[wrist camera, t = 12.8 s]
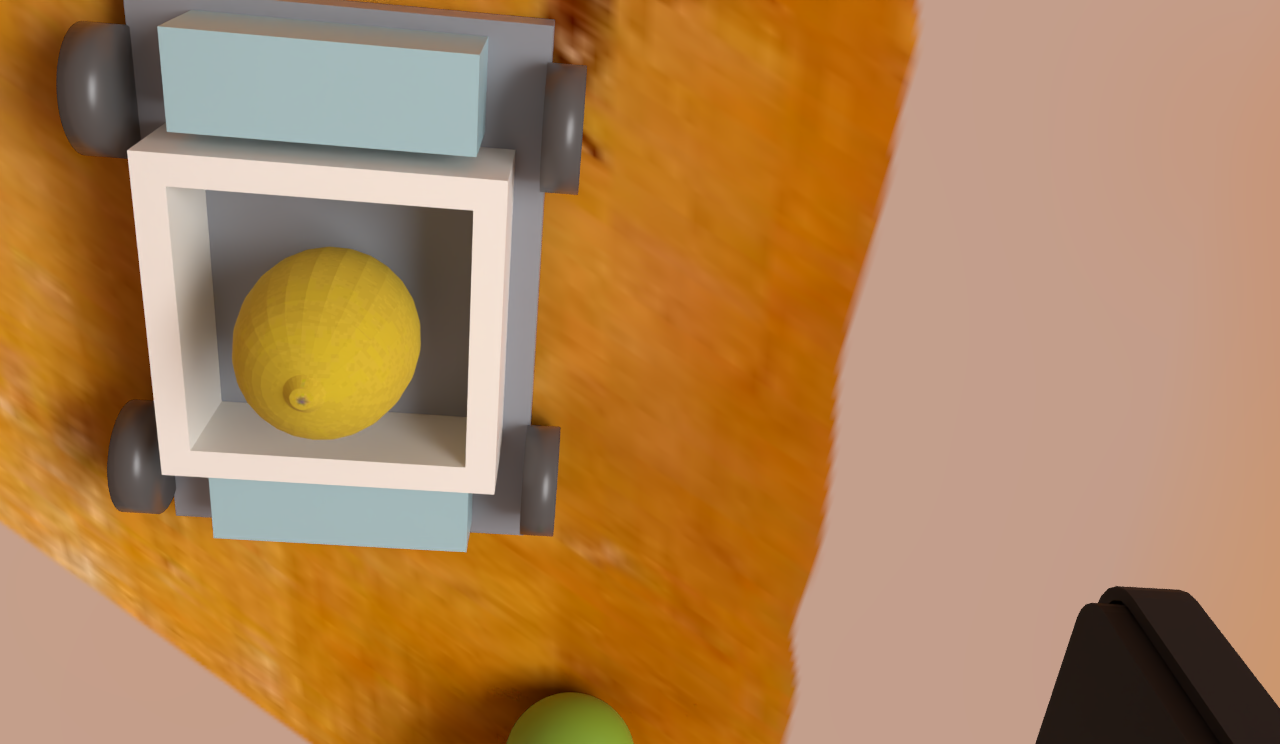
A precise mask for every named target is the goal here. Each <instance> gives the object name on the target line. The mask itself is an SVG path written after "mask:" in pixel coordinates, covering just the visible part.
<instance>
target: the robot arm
mask: <svg viewBox="0 0 1280 744" xmlns="http://www.w3.org/2000/svg"><path fill="white" fill-rule="evenodd" d="M1036 744H1280V708H1279V707H1278V706H1277V704H1276V703H1275V702H1274V700H1273V699H1272V698H1271V696H1270V695H1269V694H1268V693H1267V691H1266V690H1265V689H1264V687H1263V686H1262V685H1261V683H1260V682H1259V681H1258V680H1257V678H1256V677H1255V676H1254V674H1253V673H1252V672H1251V671H1250V669H1249V668H1248V667H1247V665H1246V664H1245V663H1244V661H1243V660H1242V659H1241V657H1240V656H1239V655H1238V654H1237V652H1236V651H1235V650H1234V648H1233V647H1232V646H1231V644H1230V643H1229V642H1228V641H1227V639H1226V638H1225V637H1224V635H1223V634H1222V633H1221V632H1220V630H1219V629H1218V628H1217V626H1216V625H1215V624H1214V622H1213V621H1212V620H1211V619H1210V617H1209V616H1208V615H1207V613H1206V612H1205V611H1204V609H1203V608H1202V607H1201V606H1200V604H1199V603H1198V602H1197V601H1196V600H1195V599H1194V598H1193V597H1192V596H1191V595H1190V594H1189V593H1187V592H1184V591H1181V590H1172V589H1155V588H1136V587H1118V586H1116V587H1112V588H1109V589H1107V591H1106V592H1105V593H1104V594H1103V595H1102V596H1101V598H1100V600H1099V602H1098V603H1090V604H1087V605H1085V606H1084V607H1083V608H1082V609H1081V611H1080V613H1079V615H1078V617H1077V620H1076V623H1075V626H1074V629H1073V632H1072V635H1071V638H1070V641H1069V644H1068V647H1067V650H1066V653H1065V656H1064V659H1063V662H1062V665H1061V668H1060V671H1059V674H1058V677H1057V680H1056V683H1055V686H1054V689H1053V692H1052V696H1051V699H1050V701H1049V704H1048V707H1047V711H1046V713H1045V717H1044V719H1043V723H1042V725H1041V728H1040V732H1039V735H1038V737H1037V740H1036Z"/></svg>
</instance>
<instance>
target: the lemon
mask: <svg viewBox="0 0 1280 744" xmlns="http://www.w3.org/2000/svg"><path fill="white" fill-rule="evenodd" d="M420 347H421V338H420V320H419V317H418V313H417V310H416V307H415V303H414V300H413V298H412V296H411V295H410V293H409V291H408V290H407V288H406V286H405V285H404V283H403V281H402V280H401V279H400V278H399V277H398V276H397V275H396V274H395V273H394V272H393V271H392V270H391V269H390V268H389V267H388V266H386V265H385V264H383V263H382V262H380V261H378V260H377V259H375V258H374V257H372V256H370V255H368V254H365V253H362V252H359V251H356V250H353V249H348V248H339V247H322V248H314V249H308V250H305V251H302V252H300V253H297V254H295V255H292V256H289V257H287V258H285V259H283V260H282V261H280V262H279V263H278V264H276V265H275V266H274V267H272V268H271V269H270V270H268V271H267V272H266V273H265V274H263V275H262V276H261V277H260V279H259V280H258V281H257V283H256V284H255V285H254V287H253V288H252V289H251V291H250V292H249V294H248V295H247V296H246V298H245V300H244V301H243V304H242V306H241V309H240V312H239V315H238V318H237V320H236V323H235V326H234V331H233V345H232V364H233V368H234V372H235V376H236V380H237V383H238V386H239V388H240V390H241V392H242V394H243V395H244V397H245V399H246V401H247V403H248V404H249V405H250V406H251V407H252V408H253V410H254V411H255V412H256V413H257V414H258V415H259V416H260V417H261V418H262V419H264V420H265V421H266V422H268V423H269V424H271V425H272V426H274V427H275V428H276V429H278V430H281V431H283V432H285V433H288V434H290V435H292V436H296V437H301V438H306V439H311V440H333V439H338V438H342V437H346V436H350V435H353V434H355V433H357V432H359V431H361V430H363V429H365V428H367V427H369V426H371V425H373V424H374V423H376V422H377V421H378V420H379V419H380V418H381V417H382V416H383V415H385V414H386V413H387V412H388V411H389V410H390V409H391V408H392V407H393V406H394V405H395V404H396V403H397V402H398V400H399V399H400V397H401V396H402V394H403V392H404V391H405V389H406V388H407V386H408V384H409V383H410V381H411V379H412V377H413V375H414V372H415V368H416V365H417V361H418V357H419V354H420Z"/></svg>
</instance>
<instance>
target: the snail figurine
mask: <svg viewBox="0 0 1280 744" xmlns="http://www.w3.org/2000/svg"><path fill="white" fill-rule="evenodd" d="M506 744H634V743H633V739H632V736H631V734H630V731H629V729H628V727H627V725H626V724H625V722H624V721H623V719H622V718H621V717H620V715H619V714H618V713H617V712H616V711H615V710H614V709H613V708H612V707H611V706H609V705H608V704H607V703H605V702H604V701H602V700H600V699H598V698H596V697H593V696H591V695H587V694H583V693H576V692H566V693H559V694H555V695H551V696H548V697H546V698H544V699H542V700H540V701H538V702H536V703H535V704H533V705H532V706H531V707H530V708H528V709H527V710H526V711H525V712H524V713H523V714H522V715H521V717H520V718H519V719H518V720H517V722H516V723H515V725H514V727H513V728H512V730H511V732H510V735H509V737H508V740H507V743H506Z"/></svg>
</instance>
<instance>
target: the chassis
mask: <svg viewBox="0 0 1280 744" xmlns="http://www.w3.org/2000/svg"><path fill="white" fill-rule="evenodd" d="M124 10H125V20H126V25H122V24H111V23H99V22H88V21H79V22H76V23H74V24H73V25H72V26H71V27H70V29H69V30H68V31H67V33H66V35H65V37H64V40H63V42H62V45H61V49H60V53H59V58H58V65H57V85H56V86H57V101H58V108H59V114H60V118H61V122H62V126H63V129H64V131H65V134H66V136H67V138H68V140H69V142H70V144H71V145H72V147H73V148H74V149H75V150H76V151H77V152H78V153H80V154H82V155H87V156H99V157H112V158H124V159H127V158H128V164H129V173H130V182H131V192H132V201H133V210H134V220H135V229H136V238H137V248H138V257H139V266H140V276H141V285H142V294H143V304H144V313H145V322H146V332H147V341H148V350H149V360H150V369H151V379H152V388H153V397H154V401H151V400H130V401H129V402H127V403H126V404H125V405H124V407H123V408H122V410H121V411H120V413H119V415H118V417H117V419H116V422H115V425H114V428H113V431H112V435H111V440H110V445H109V452H108V463H107V477H108V487H109V492H110V496H111V499H112V502H113V504H114V506H115V507H116V508H117V509H118V510H119V511H121V512H134V513H152V514H160V513H162V512H164V511H165V510H166V509H167V508H168V506H169V505H170V503H171V501H172V499H173V497H174V498H175V508H176V515H178V516H196V517H212V523H213V535H214V538H223V539H241V540H259V541H277V542H294V543H312V544H330V545H348V546H366V547H384V548H402V549H420V550H438V551H456V552H466V551H467V545H468V540H469V534H470V532H476V533H493V534H511V535H537V536H553V530H554V518H555V504H556V490H557V475H558V460H559V444H560V427H554V426H538V425H531V415H532V398H533V381H534V364H535V348H536V331H537V314H538V297H539V280H540V263H541V247H542V230H543V213H544V196H545V192H549V193H561V194H574V195H578V186H579V174H580V161H581V147H582V133H583V119H584V104H585V89H586V72H587V66H584V65H572V64H561V63H552V61H553V45H554V28H555V20H553V19H542V18H531V17H520V16H509V15H498V14H488V13H477V12H466V11H455V10H444V9H433V8H422V7H411V6H400V5H389V4H378V3H368V2H357V1H346V0H124ZM322 247H339V248H348V249H353V250H356V251H359V252H362V253H365V254H368V255H370V256H372V257H374V258H375V259H377V260H378V261H380V262H382V263H383V264H385V265H386V266H388V267H389V268H390V269H391V270H392V271H393V272H394V273H395V274H396V275H397V276H398V277H399V278H400V279H401V280H402V281H403V283H404V285H405V286H406V288H407V290H408V291H409V293H410V295H411V296H412V298H413V300H414V303H415V307H416V310H417V313H418V317H419V320H420V338H421V347H420V354H419V357H418V361H417V365H416V368H415V372H414V375H413V377H412V379H411V381H410V383H409V384H408V386H407V388H406V389H405V391H404V392H403V394H402V396H401V397H400V399H399V400H398V402H397V403H396V404H395V405H394V406H393V407H392V408H391V409H390V410H389V411H388V412H387V413H386V414H385V415H383V416H382V417H381V418H380V419H379V420H378V421H377V422H376V423H374V424H373V425H371V426H369V427H367V428H365V429H363V430H361V431H359V432H357V433H355V434H353V435H350V436H346V437H342V438H338V439H333V440H311V439H306V438H301V437H296V436H292V435H290V434H288V433H285V432H283V431H281V430H278V429H276V428H275V427H274V426H272V425H271V424H269V423H268V422H266V421H265V420H264V419H262V418H261V417H260V416H259V415H258V414H257V413H256V412H255V411H254V410H253V408H252V407H251V406H250V405H249V404H248V403H247V401H246V399H245V397H244V395H243V394H242V392H241V390H240V388H239V386H238V383H237V380H236V376H235V372H234V368H233V364H232V345H233V331H234V326H235V323H236V320H237V318H238V315H239V312H240V309H241V306H242V304H243V301H244V300H245V298H246V296H247V295H248V294H249V292H250V291H251V289H252V288H253V287H254V285H255V284H256V283H257V281H258V280H259V279H260V277H261V276H262V275H263V274H265V273H266V272H267V271H268V270H270V269H271V268H272V267H274V266H275V265H276V264H278V263H279V262H280V261H282V260H283V259H285V258H287V257H289V256H292V255H295V254H297V253H300V252H302V251H305V250H308V249H314V248H322Z"/></svg>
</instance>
